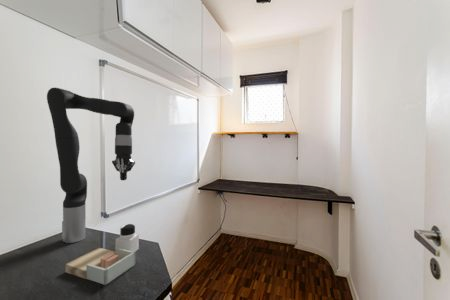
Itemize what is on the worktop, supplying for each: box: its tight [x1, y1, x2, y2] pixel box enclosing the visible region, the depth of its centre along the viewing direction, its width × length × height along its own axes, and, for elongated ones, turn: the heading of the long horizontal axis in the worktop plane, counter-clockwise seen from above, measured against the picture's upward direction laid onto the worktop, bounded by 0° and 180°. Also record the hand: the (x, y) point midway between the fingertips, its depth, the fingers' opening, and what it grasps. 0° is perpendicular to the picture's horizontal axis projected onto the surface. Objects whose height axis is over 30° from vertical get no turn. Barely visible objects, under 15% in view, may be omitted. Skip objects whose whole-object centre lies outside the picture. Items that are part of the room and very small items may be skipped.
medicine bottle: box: [115, 223, 140, 253], centre depth 94 cm, size 7×7×12 cm
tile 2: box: [105, 255, 119, 269], centre depth 80 cm, size 4×4×2 cm
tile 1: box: [101, 253, 115, 268], centre depth 81 cm, size 4×4×2 cm
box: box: [85, 248, 136, 286], centre depth 80 cm, size 9×14×5 cm
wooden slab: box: [64, 247, 116, 280], centre depth 83 cm, size 11×14×3 cm
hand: (123, 180), depth 102 cm, fingers closed
